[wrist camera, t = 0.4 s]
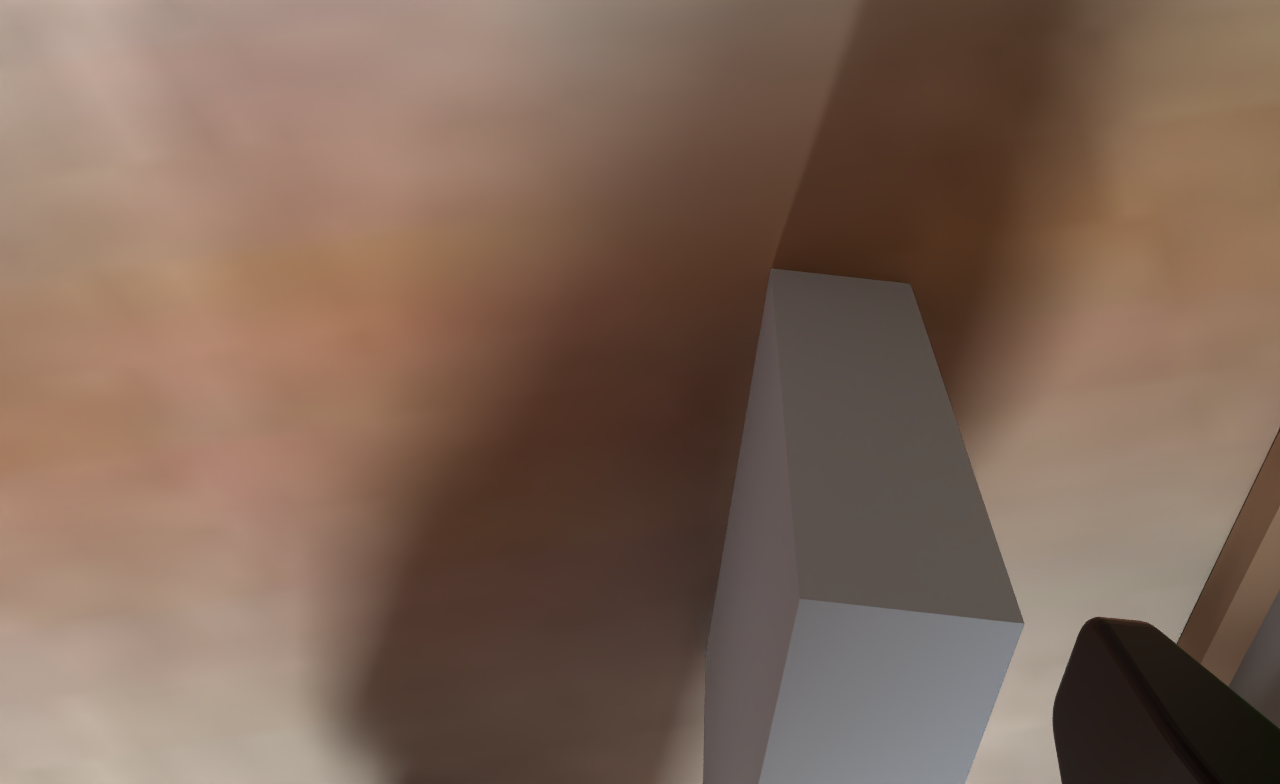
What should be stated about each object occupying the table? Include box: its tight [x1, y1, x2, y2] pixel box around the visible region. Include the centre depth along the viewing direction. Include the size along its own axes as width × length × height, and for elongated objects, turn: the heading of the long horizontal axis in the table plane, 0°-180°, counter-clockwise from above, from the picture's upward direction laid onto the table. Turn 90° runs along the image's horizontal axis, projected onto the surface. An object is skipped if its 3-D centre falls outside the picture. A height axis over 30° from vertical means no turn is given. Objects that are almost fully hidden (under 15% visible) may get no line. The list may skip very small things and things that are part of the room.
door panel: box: [703, 268, 1024, 784], centre depth 19 cm, size 10×3×9 cm, turn 175°
